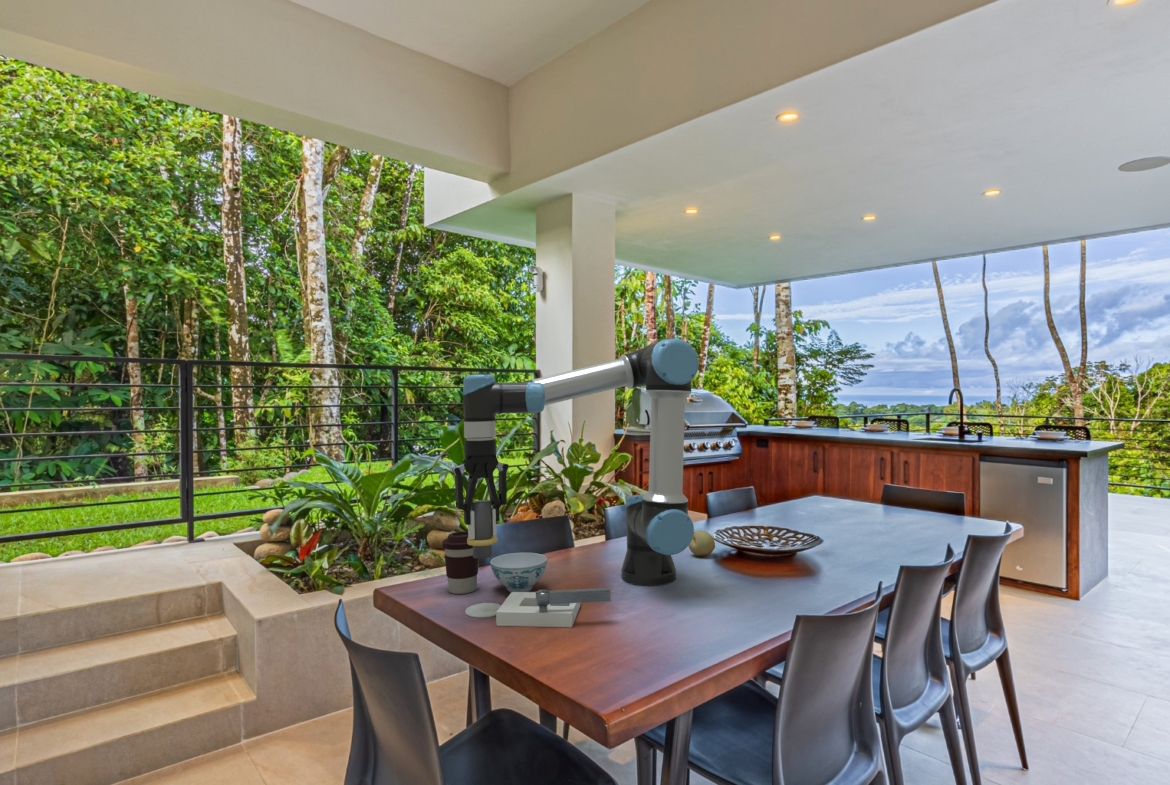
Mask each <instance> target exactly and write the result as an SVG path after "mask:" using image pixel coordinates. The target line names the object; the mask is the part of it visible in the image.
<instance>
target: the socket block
mask: <svg viewBox="0 0 1170 785" xmlns="http://www.w3.org/2000/svg"><path fill="white" fill-rule="evenodd" d="M581 604H582V603H564V604H549V605H545V606H539V605H536V591H527V592H510V593H509V595H508V596H507V597H506V599H505V600H504V602H502V604H500V605H501V607H500V608H499V609H498V610H497V612H496V615H495V616H496V617H495V618H496V626H497V627H499V626H501V627H502V626H503V627H504V626H505V627H540V628H543V627H545V628H546V627H547V628H572V627H573V626H574V623H575V620H576V617H577V615H578V613H579V610H580V607H581Z"/></svg>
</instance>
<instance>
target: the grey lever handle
mask: <svg viewBox="0 0 1170 785" xmlns="http://www.w3.org/2000/svg"><path fill="white" fill-rule="evenodd" d="M535 592H536V605H539V606H545V605H549V604H564V603H580V604H582V603H598V602H599V603H601V602H605V603H606V602H611V598H612V597H611V588H610V587H596V588H595V587H594V588H576V589H558V590H557V589H554V590H549V589H538V590H537V591H535Z"/></svg>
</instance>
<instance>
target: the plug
mask: <svg viewBox="0 0 1170 785" xmlns="http://www.w3.org/2000/svg"><path fill="white" fill-rule="evenodd" d="M491 507H492V503H491V499H489V500H488V499H480V500H479V499H478V500H473V502H472V507H471V510H473V511H474V523H475V539H470V538H467V544H468V545H471V546H473V558H477V559H479V560H481V559H488V558H489V559H490V558H492V557H493V545H495V544H497V543H498V541H499V538H498V536H497V535H496V536H492V511H491Z"/></svg>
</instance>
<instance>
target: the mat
mask: <svg viewBox="0 0 1170 785" xmlns="http://www.w3.org/2000/svg"><path fill="white" fill-rule="evenodd" d="M501 605H502V604H499V603H497V602H496V603H495V602H483V603H482V602H481V603H476V604H473V605H472V604H471V606H468V607H466V608H465V611H464V612H465V615H466V616H468V617H470V618H474V619H482V618H483V619H484V618H492V617H495V616H496V612H497V610H498V609H499V608H500V607H501Z"/></svg>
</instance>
